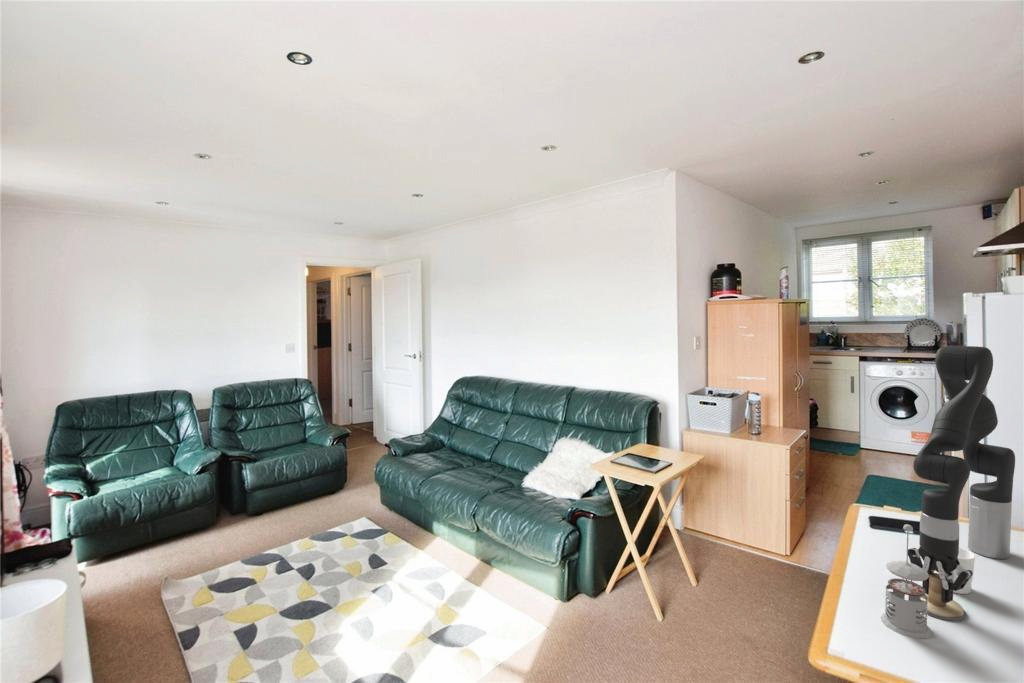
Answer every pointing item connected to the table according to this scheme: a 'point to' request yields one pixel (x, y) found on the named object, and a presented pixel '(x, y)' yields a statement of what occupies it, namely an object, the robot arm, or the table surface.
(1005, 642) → the table surface
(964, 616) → the mat
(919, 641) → the table surface
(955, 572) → the white cup
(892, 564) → the french press
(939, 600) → the lid
